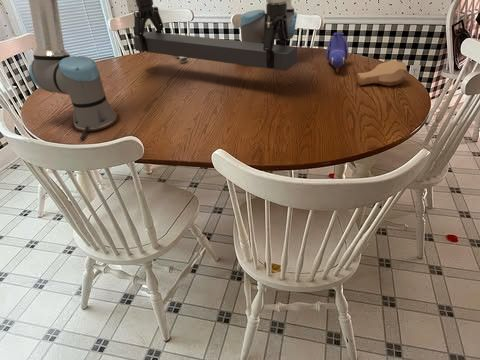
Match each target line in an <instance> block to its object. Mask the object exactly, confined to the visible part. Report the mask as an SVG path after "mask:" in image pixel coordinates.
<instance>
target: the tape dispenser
mask: <svg viewBox="0 0 480 360" xmlns="http://www.w3.org/2000/svg"><path fill="white" fill-rule="evenodd" d="M175 57H176V59H179V62H180V63H181V64H183V63H186V62H187V61H188V57H180V56H175Z"/></svg>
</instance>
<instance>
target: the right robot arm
mask: <svg viewBox="0 0 480 360" xmlns="http://www.w3.org/2000/svg"><path fill="white" fill-rule="evenodd" d="M265 2H266V5H265V10H264V9H254V10H249V11H247V12H244V13H243V14H241V16H240V35H241V41H245V42H255V43H264V47H263V50H264V51H266V56H267V68H266V69H269V68H274V51H272V50H273V45H275V40H279V42H278V45H284V46H287V43H289V40H292V39H293V38H294V36H295V30H296V24H297V17H298V13H297V12H296V11H295V7H294V6H293V5H292V0H265Z"/></svg>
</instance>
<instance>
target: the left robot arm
mask: <svg viewBox="0 0 480 360" xmlns="http://www.w3.org/2000/svg"><path fill="white" fill-rule="evenodd" d="M28 5H29V10H30V16H31V22H32V28H33V33H34V34H33V35H34V39H35V44H36V50H35V51H34V52H33V53H32V55H33V60H32V61H31V62H30V63H31V64H30V65H29V68H28V72H29V77H30V79H31V81H32V82H33V84H34V85H35V86H37V88H39V89H41V90H43V91H46V92H49V93H56V94H61V95H62V94H63V95H67V96H69V99H70V101H71V104H72V108H73V114H72V117H73V118H72V119H73V125H74V128H75V129H76V131H78V132H82V134H81V136H80V138H79V139H80V140H81V141H83V140H84V139H85V137H86V134H87V133H92V132H99V131H102V130H105V129H107V128H110V127H111V126H113V125H115V124H116V122H117V121H118V116H117V113H116V111H115V110H114V108H113V107H112V105H111V103H110V102H109V101H108V99H107V96H106V92H105V89H104V85H103V81H102V77H101V73H100V70H99V68H98V66H97V64H96V62H95V60H94V59H92V58H90V57H88V56H83V55H78V56H76V55H71V54H70V53H69V52H68V51H67V50H66V49H65V44H64V38H63V31H62V30H63V29H62V23H61V17H60V9H59V3H58V0H28ZM135 5H136V7H137V9H138V10H137V11H133V18H134V21H133V22H134V25H133V26H134V30H133V31H134V32H133V33H134V34H133V35H134V36H138V37H139V40H140V44H141V47H142V50H143V51H148V50H147V45H146V40H145V36H143V34H144V32H145V28H146V24H147V21H148V20H150V21H151V23H152V25H153V27H154V28H155V29H156V30H155V31H154V32H157V33H162V31H163V30H164V28H165V25H164V23H163V20H162V17H161V14H160V13H159V12H160V11H159V7H158V6H154V0H135ZM143 51H142V52H143Z"/></svg>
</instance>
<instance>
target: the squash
mask: <svg viewBox="0 0 480 360" xmlns="http://www.w3.org/2000/svg"><path fill="white" fill-rule="evenodd" d="M407 76H408V68H407V64H406V62H403V61H398V60H393V59H390V60H387V61H385V62H382V63H381V62H380V63H378V64H377V65H376V66H375V68H373V69H372V70H370V71H365V72H359V73H357V74H356V80H357V83H358V85H359V86H364V85H370V84H379V85H383V86H387V87H391V86H397V85H399V84H401V83H403V82H404V81H405V80H406V78H407Z"/></svg>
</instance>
